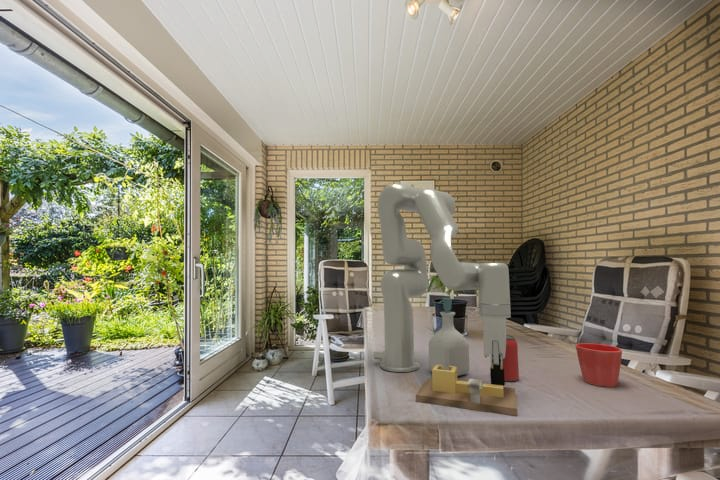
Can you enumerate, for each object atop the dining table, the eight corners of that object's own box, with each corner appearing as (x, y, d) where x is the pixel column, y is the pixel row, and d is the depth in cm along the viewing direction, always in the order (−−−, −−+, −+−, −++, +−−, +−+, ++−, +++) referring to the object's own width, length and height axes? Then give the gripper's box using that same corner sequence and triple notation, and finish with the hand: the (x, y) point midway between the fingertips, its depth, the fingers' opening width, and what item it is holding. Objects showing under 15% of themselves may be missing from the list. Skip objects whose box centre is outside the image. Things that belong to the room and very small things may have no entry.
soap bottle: (426, 372, 105) (424, 297, 107) (448, 367, 110) (446, 296, 112) (450, 380, 97) (447, 299, 99) (472, 374, 102) (470, 298, 104)
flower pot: (618, 379, 97) (615, 344, 98) (629, 391, 87) (626, 352, 88) (575, 374, 102) (572, 341, 103) (581, 386, 92) (578, 349, 93)
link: (432, 390, 84) (432, 369, 85) (436, 384, 89) (436, 364, 90) (503, 399, 78) (502, 377, 79) (503, 392, 83) (502, 371, 84)
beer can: (514, 375, 101) (512, 334, 102) (522, 382, 95) (520, 338, 96) (491, 375, 102) (489, 334, 103) (498, 382, 95) (496, 338, 97)
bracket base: (415, 401, 81) (415, 371, 82) (428, 383, 94) (427, 357, 95) (517, 416, 73) (515, 382, 74) (515, 394, 86) (514, 365, 86)
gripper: (481, 307, 96) (483, 374, 94) (477, 313, 82) (480, 392, 81) (510, 308, 93) (513, 377, 91) (511, 314, 79) (514, 396, 78)
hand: (497, 384), depth 86 cm, fingers closed
